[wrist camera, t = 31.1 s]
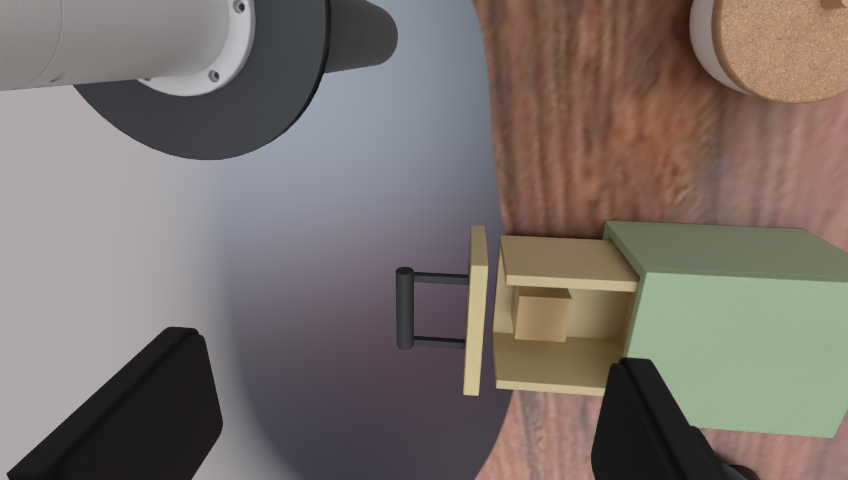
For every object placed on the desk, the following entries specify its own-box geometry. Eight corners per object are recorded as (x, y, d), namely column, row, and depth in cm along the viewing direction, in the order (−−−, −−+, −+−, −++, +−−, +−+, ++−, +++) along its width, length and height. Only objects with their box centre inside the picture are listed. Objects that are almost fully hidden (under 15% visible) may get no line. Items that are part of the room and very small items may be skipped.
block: (510, 312, 39) (514, 339, 36) (514, 272, 38) (519, 296, 34) (556, 315, 39) (565, 342, 35) (562, 274, 37) (572, 299, 34)
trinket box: (871, -15, 29) (1037, -42, 21) (738, 121, 33) (830, 146, 25) (755, -123, 28) (883, -200, 19) (630, 34, 32) (689, 28, 23)
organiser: (582, 344, 42) (611, 421, 33) (605, 220, 37) (646, 272, 28) (755, 355, 41) (833, 438, 32) (802, 228, 36) (910, 285, 27)
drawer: (404, 332, 43) (391, 389, 35) (404, 221, 38) (389, 261, 31) (622, 346, 41) (654, 409, 34) (648, 232, 36) (691, 276, 29)
